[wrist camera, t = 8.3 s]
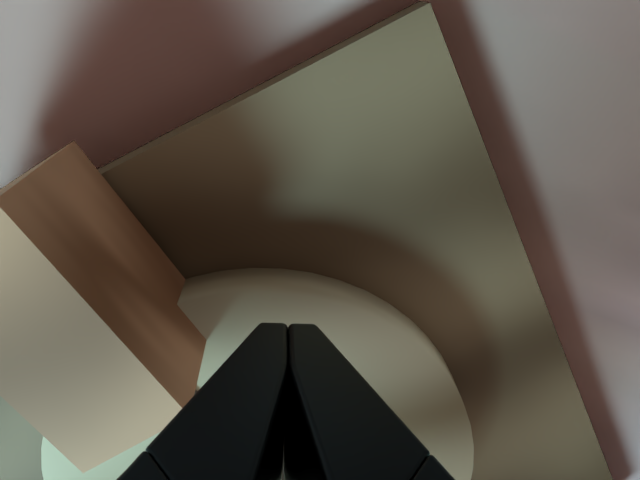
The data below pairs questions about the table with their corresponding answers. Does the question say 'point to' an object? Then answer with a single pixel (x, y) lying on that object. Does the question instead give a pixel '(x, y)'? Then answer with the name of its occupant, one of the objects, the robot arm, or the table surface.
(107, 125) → the table surface
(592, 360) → the table surface
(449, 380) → the flange plate
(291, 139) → the beige square tray
